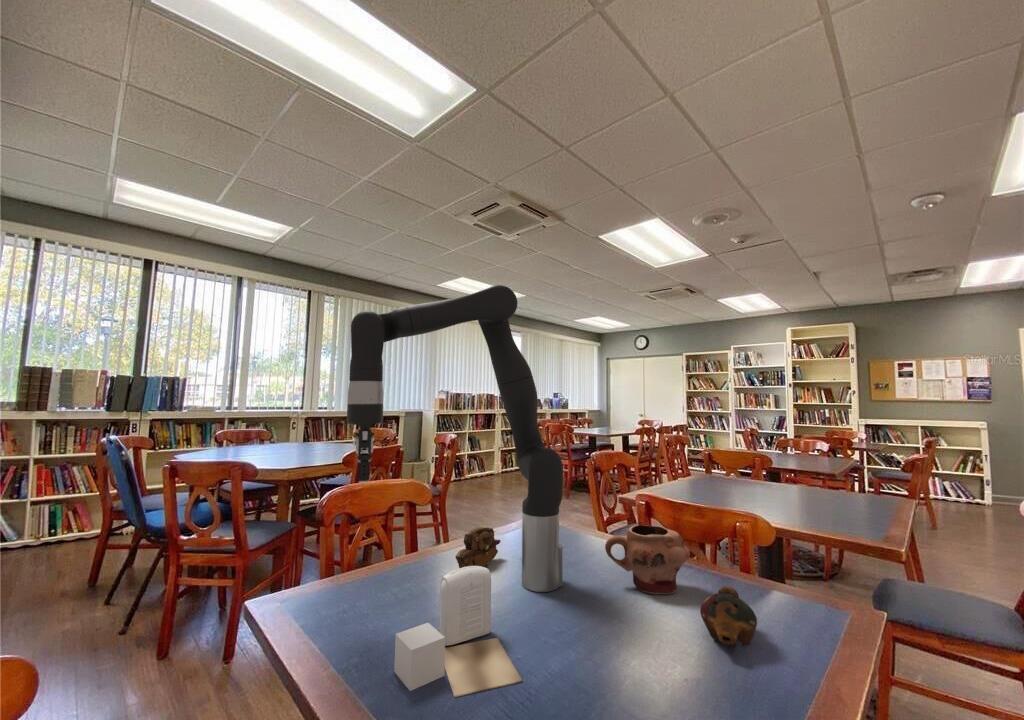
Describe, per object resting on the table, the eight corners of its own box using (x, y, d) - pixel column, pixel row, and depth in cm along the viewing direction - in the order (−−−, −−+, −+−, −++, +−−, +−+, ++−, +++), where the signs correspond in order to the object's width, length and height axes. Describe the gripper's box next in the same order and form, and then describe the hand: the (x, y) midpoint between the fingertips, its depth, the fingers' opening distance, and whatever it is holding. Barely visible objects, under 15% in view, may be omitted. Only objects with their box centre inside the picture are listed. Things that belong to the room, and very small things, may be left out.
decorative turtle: (753, 626, 85) (751, 584, 85) (764, 669, 71) (761, 619, 72) (701, 616, 89) (699, 576, 89) (701, 655, 75) (699, 607, 76)
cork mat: (497, 639, 79) (497, 637, 79) (522, 681, 67) (522, 680, 67) (438, 650, 76) (438, 648, 76) (454, 697, 63) (454, 696, 63)
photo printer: (483, 624, 84) (483, 559, 86) (494, 633, 81) (494, 565, 83) (435, 639, 79) (436, 569, 81) (445, 650, 75) (446, 576, 77)
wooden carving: (467, 578, 107) (468, 538, 108) (453, 574, 109) (454, 534, 110) (503, 559, 120) (503, 522, 121) (490, 555, 123) (490, 520, 124)
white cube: (394, 672, 69) (395, 633, 70) (427, 659, 73) (428, 622, 74) (410, 691, 65) (411, 650, 65) (444, 676, 68) (445, 637, 69)
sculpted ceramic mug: (611, 598, 96) (610, 535, 98) (601, 576, 108) (600, 521, 110) (699, 600, 96) (697, 536, 97) (679, 578, 108) (678, 522, 110)
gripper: (385, 402, 88) (383, 481, 86) (381, 402, 101) (380, 471, 99) (346, 402, 85) (343, 484, 83) (348, 402, 98) (346, 473, 97)
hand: (363, 477), depth 91 cm, fingers open, 8 cm apart
